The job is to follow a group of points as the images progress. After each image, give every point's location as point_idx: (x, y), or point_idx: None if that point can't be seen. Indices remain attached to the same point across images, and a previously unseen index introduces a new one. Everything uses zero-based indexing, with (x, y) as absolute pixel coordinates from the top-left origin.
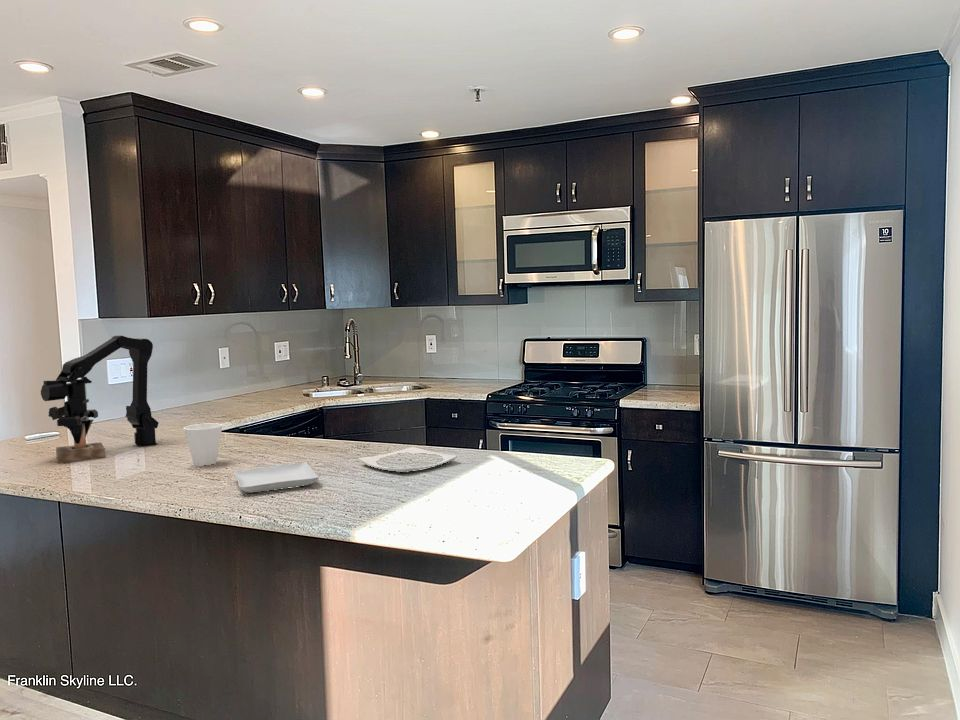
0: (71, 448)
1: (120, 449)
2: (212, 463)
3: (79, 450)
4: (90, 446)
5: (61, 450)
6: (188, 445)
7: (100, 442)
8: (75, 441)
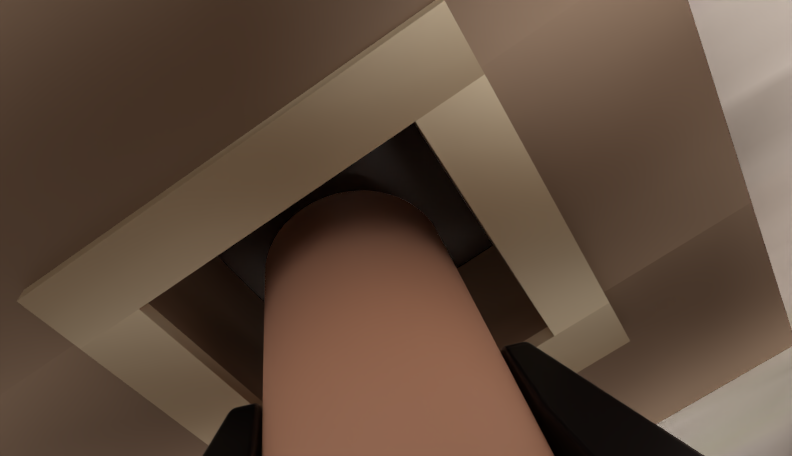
0: (222, 249)
1: (724, 405)
2: None
3: (123, 441)
4: None
5: (77, 81)
6: None
7: (784, 342)
8: (210, 453)
